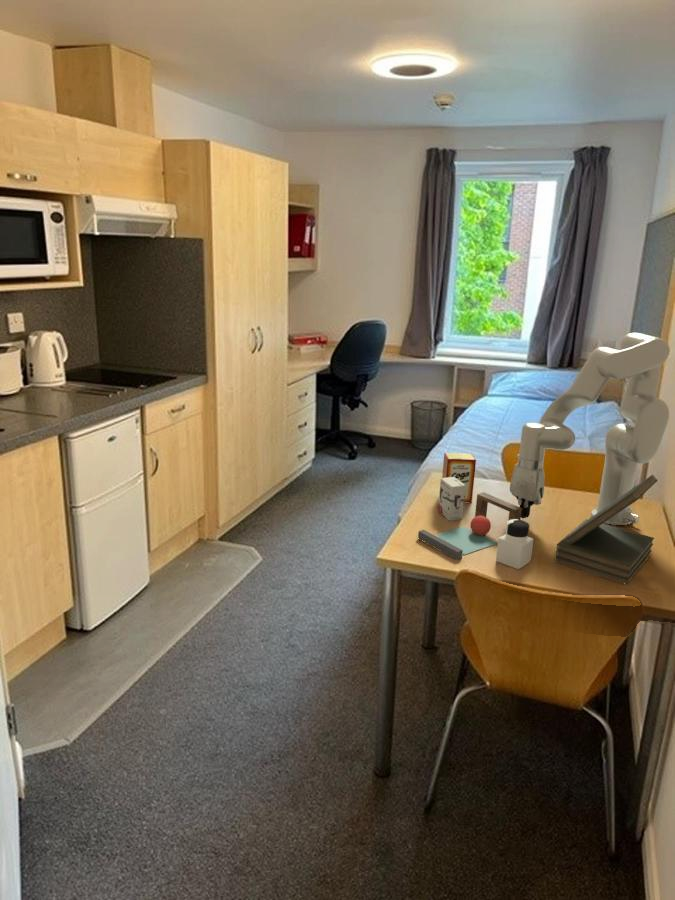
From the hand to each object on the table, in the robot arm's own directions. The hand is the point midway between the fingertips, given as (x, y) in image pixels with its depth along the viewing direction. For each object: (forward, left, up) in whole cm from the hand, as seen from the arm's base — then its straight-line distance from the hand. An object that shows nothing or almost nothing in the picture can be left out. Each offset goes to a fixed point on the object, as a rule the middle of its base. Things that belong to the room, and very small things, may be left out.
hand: (523, 516), depth 207 cm
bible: (-30, +2, -2) cm, 30 cm away
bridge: (0, +13, -2) cm, 13 cm away
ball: (0, +20, +2) cm, 20 cm away
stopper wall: (0, +37, -2) cm, 37 cm away
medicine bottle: (-17, +25, -2) cm, 30 cm away
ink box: (+16, +17, -2) cm, 23 cm away
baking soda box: (+25, +5, -2) cm, 26 cm away
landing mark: (0, +27, -2) cm, 27 cm away
